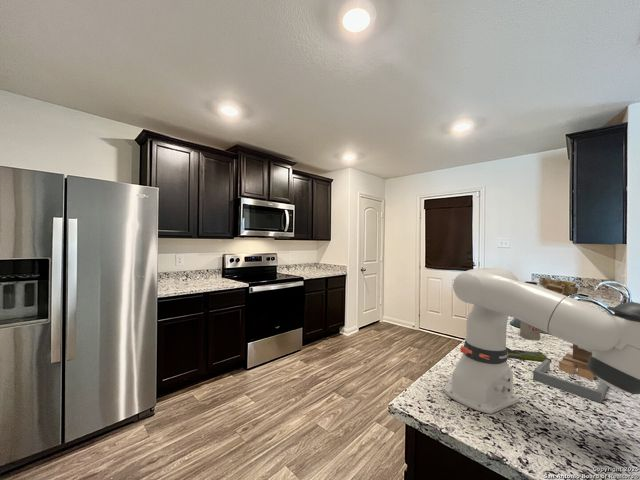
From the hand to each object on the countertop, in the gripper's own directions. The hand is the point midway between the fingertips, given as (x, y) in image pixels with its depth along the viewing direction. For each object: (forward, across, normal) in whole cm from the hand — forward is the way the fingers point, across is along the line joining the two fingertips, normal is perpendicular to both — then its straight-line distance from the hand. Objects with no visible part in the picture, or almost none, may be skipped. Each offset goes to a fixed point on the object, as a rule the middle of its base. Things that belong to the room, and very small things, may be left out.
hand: (579, 343), depth 104 cm
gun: (+18, -7, -9) cm, 22 cm away
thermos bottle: (+21, +21, -8) cm, 31 cm away
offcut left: (+2, -10, -8) cm, 13 cm away
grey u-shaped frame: (-1, -21, -8) cm, 23 cm away
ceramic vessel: (+30, +132, -8) cm, 136 cm away
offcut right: (-3, -10, -8) cm, 14 cm away
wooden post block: (-1, 0, -8) cm, 8 cm away
